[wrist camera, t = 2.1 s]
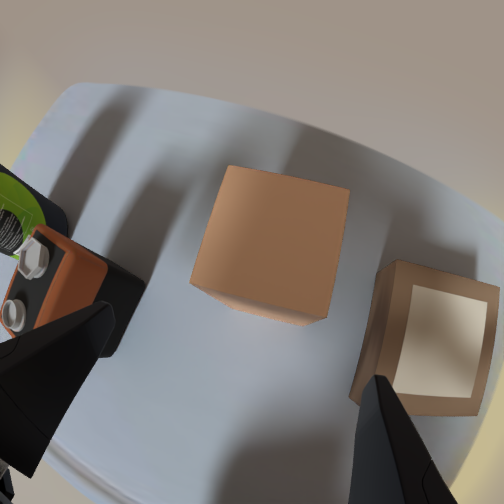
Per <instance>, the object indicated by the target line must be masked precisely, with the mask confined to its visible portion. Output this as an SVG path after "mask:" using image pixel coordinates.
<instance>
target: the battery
mask: <svg viewBox="0 0 504 504" xmlns="http://www.w3.org/2000/svg"><path fill="white" fill-rule="evenodd" d="M144 288H145V283H144V281H143V280H141V279H140V278H138V277H136V276H135V275H133V274H131V273H130V272H128V271H126V270H125V269H123V268H122V267H120V266H118V265H117V264H115V263H114V262H112V261H110V260H108V259H106V258H104V257H103V256H101V255H99V254H97V253H95V252H93V251H91V250H89V249H87V248H85V247H84V246H82V245H80V244H78V243H76V242H74V241H73V240H71V239H69V238H67V237H65V236H64V235H62V234H60V233H58V232H56V231H55V230H53V229H51V228H49V227H48V226H46V225H44V224H38V225H36V226H35V228H34V230H33V232H32V234H31V236H30V238H29V240H28V242H27V243H26V244H25V245H24V246H23V247H22V248H21V249H20V254H19V261H18V264H17V267H16V269H15V272H14V274H13V277H12V279H11V282H10V285H9V287H8V290H7V293H6V296H5V298H4V301H3V304H2V307H1V311H0V322H1V323H2V325H3V326H4V327H5V329H6V330H7V331H8V333H9V334H10V335H11V336H12V338H14V337H17V336H19V335H21V334H24V333H26V332H28V331H30V330H33V329H35V328H37V327H40V326H42V325H44V324H47V323H49V322H51V321H54V320H56V319H58V318H61V317H63V316H65V315H68V314H70V313H72V312H75V311H77V310H79V309H82V308H84V307H87V306H89V305H91V304H94V303H96V302H98V301H104V302H107V303H109V304H111V306H112V309H113V313H114V317H115V326H114V328H113V330H112V332H111V334H110V336H109V338H108V340H107V342H106V344H105V346H104V348H103V350H102V352H101V354H100V356H99V358H106V357H111V356H112V355H113V353H114V351H115V349H116V347H117V345H118V342H119V340H120V338H121V336H122V334H123V332H124V329H125V327H126V325H127V323H128V321H129V319H130V317H131V315H132V313H133V310H134V308H135V306H136V304H137V302H138V300H139V298H140V296H141V294H142V292H143V290H144Z"/></svg>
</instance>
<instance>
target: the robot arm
mask: <svg viewBox="0 0 504 504" xmlns="http://www.w3.org/2000/svg"><path fill="white" fill-rule="evenodd" d="M114 326H115V317H114V313H113V309H112V306H111V304H109V303H107V302H104V301H98V302H96V303H94V304H91V305H89V306H87V307H84V308H82V309H79V310H77V311H75V312H72V313H70V314H68V315H65V316H63V317H61V318H58V319H56V320H54V321H51V322H49V323H47V324H44V325H42V326H40V327H37V328H35V329H33V330H30V331H28V332H26V333H24V334H21V335H19V336H17V337H14V338H12V339H10V340H7V341H5V342H2V343H0V504H13V503H12V502H11V500H12V499H13V497H14V491H13V486H12V481H11V476H10V471H9V469H8V467H9V465H10V466H12V467H13V468H15V469H16V470H17V471H19V472H21V473H22V474H24V475H25V476H27V477H28V478H32V476H33V474H34V472H35V470H36V468H37V466H38V464H39V462H40V460H41V458H42V456H43V454H44V452H45V450H46V448H47V446H48V445H49V443H50V440H51V439H52V437H53V435H54V433H55V431H56V429H57V428H58V426H59V424H60V422H61V420H62V419H63V417H64V415H65V413H66V411H67V410H68V408H69V406H70V405H71V403H72V401H73V399H74V398H75V396H76V394H77V393H78V391H79V389H80V388H81V386H82V384H83V383H84V381H85V379H86V378H87V376H88V374H89V373H90V371H91V370H92V368H93V366H94V365H95V363H96V361H97V360H98V358H99V356H100V354H101V352H102V350H103V348H104V346H105V344H106V342H107V340H108V338H109V336H110V334H111V332H112V330H113V328H114ZM348 504H458V503H457V501H456V500H455V498H454V497H453V495H452V494H451V492H450V490H449V489H448V487H447V486H446V484H445V482H444V481H443V479H442V477H441V475H440V473H439V471H438V470H437V468H436V466H435V464H434V462H433V460H431V456H430V454H429V452H428V450H427V448H426V447H425V445H424V443H423V441H422V439H421V437H420V435H419V433H418V432H417V430H416V428H415V426H414V424H413V422H412V421H411V419H410V417H409V415H408V413H407V412H406V410H405V408H404V406H403V404H402V403H401V401H400V399H399V397H398V396H397V394H396V392H395V390H394V389H393V387H392V385H391V384H390V382H389V380H388V378H387V377H386V376H384V375H378V374H374V375H373V376H372V377H371V379H370V380H369V381H368V383H367V384H366V386H365V387H364V389H363V392H362V396H361V403H360V410H359V416H358V422H357V428H356V434H355V445H354V458H353V469H352V478H351V487H350V495H349V502H348Z"/></svg>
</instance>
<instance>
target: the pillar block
mask: <svg viewBox="0 0 504 504" xmlns="http://www.w3.org/2000/svg"><path fill="white" fill-rule="evenodd" d="M349 194H350V190H349V189H345V188H341V187H337V186H333V185H328V184H324V183H320V182H315V181H311V180H306V179H301V178H297V177H292V176H287V175H282V174H277V173H272V172H266V171H261V170H255V169H250V168H244V167H238V166H232V165H228V167H227V170H226V173H225V175H224V178H223V181H222V184H221V187H220V190H219V192H218V195H217V198H216V201H215V204H214V207H213V210H212V213H211V216H210V219H209V222H208V225H207V228H206V231H205V234H204V237H203V240H202V243H201V246H200V249H199V252H198V256H197V259H196V262H195V265H194V268H193V272H192V275H191V278H190V281H189V283H190V284H192V285H194V286H195V287H197V288H199V289H200V290H202V291H203V292H205V293H207V294H208V295H210V296H212V297H213V298H215V299H217V300H218V301H220V302H222V303H223V304H225V305H227V306H228V307H230V308H232V309H235V310H239V311H243V312H247V313H251V314H254V315H258V316H262V317H266V318H270V319H274V320H278V321H282V322H287V323H291V324H295V325H299V326H305V325H308V324H311V323H313V322H316V321H319V320H322V319H324V318H327V314H328V310H329V306H330V301H331V297H332V292H333V287H334V282H335V277H336V272H337V267H338V262H339V257H340V251H341V246H342V240H343V234H344V228H345V222H346V215H347V208H348V201H349Z"/></svg>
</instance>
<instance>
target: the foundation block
mask: <svg viewBox="0 0 504 504" xmlns="http://www.w3.org/2000/svg"><path fill="white" fill-rule="evenodd" d="M499 292H500V287H497V286H494V285H490V284H487V283H483V282H480V281H476V280H473V279H469V278H465V277H462V276H458V275H455V274H451V273H447V272H444V271H440V270H436V269H432V268H429V267H425V266H421V265H417V264H413V263H410V262H406V261H402V260H398V259H396V260H395V261H394V262H392V263H391V264H389V265H388V266H387V267H385V268H384V269H382V270H381V271H379V272H378V273H377V274H376V280H375V286H374V292H373V297H372V303H371V308H370V313H369V318H368V323H367V328H366V332H365V337H364V341H363V345H362V349H361V353H360V357H359V361H358V365H357V369H356V373H355V376H354V380H353V384H352V387H351V391H350V394H349V398H350V399H351V400H352V401H354V402H355V403H356V404H357V405H358V406H360V403H361V396H362V392H363V389H364V387H365V386H366V384H367V383H368V381H369V380H370V379H371V377H372V376H373V375H374V374H378V375H384V376H386V377H387V378H388V380H389V382H390V384H391V385H392V387H393V389H394V390H395V392H396V394H397V396H398V397H399V399H400V401H401V403H402V404H403V406H404V408H405V410H406V412H407V413H408V415H420V416H477V415H478V412H479V409H480V405H481V402H482V398H483V394H484V390H485V386H486V382H487V378H488V374H489V369H490V364H491V359H492V353H493V347H494V341H495V334H496V326H497V317H498V307H499Z"/></svg>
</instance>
